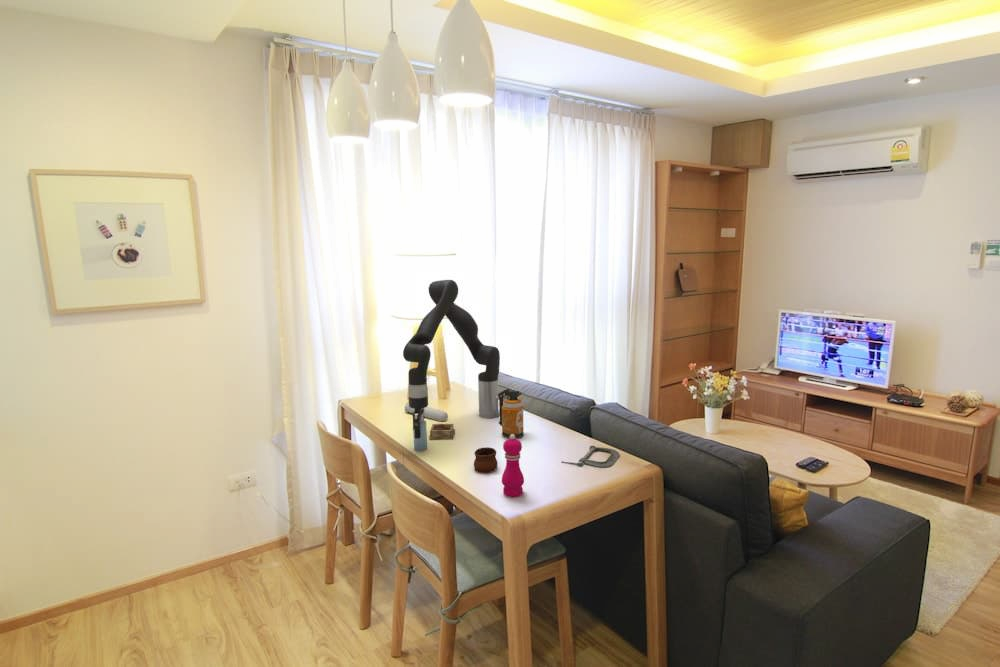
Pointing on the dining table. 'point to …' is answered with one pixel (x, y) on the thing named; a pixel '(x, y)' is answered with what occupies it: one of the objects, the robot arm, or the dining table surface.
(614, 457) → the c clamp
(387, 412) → the dining table surface
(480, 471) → the ceramic pot
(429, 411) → the tube
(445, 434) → the holder
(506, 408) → the canister
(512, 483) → the pepper mill
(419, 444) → the roll
